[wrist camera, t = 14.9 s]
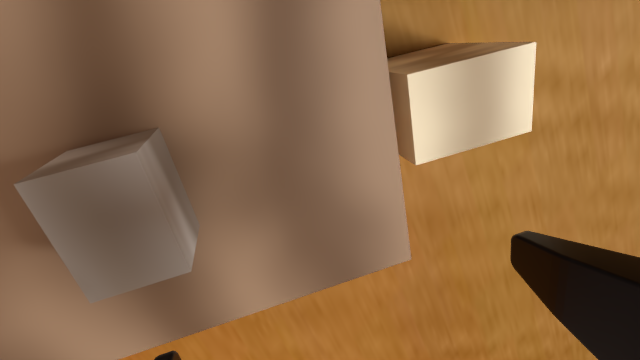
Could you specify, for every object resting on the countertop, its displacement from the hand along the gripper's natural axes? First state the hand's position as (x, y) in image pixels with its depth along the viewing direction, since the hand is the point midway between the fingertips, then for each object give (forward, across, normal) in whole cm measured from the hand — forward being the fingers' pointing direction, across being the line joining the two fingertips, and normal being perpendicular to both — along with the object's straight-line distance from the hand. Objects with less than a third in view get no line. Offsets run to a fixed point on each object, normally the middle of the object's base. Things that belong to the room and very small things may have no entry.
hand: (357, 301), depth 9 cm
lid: (+7, +6, -2) cm, 9 cm away
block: (+13, -8, -2) cm, 15 cm away
